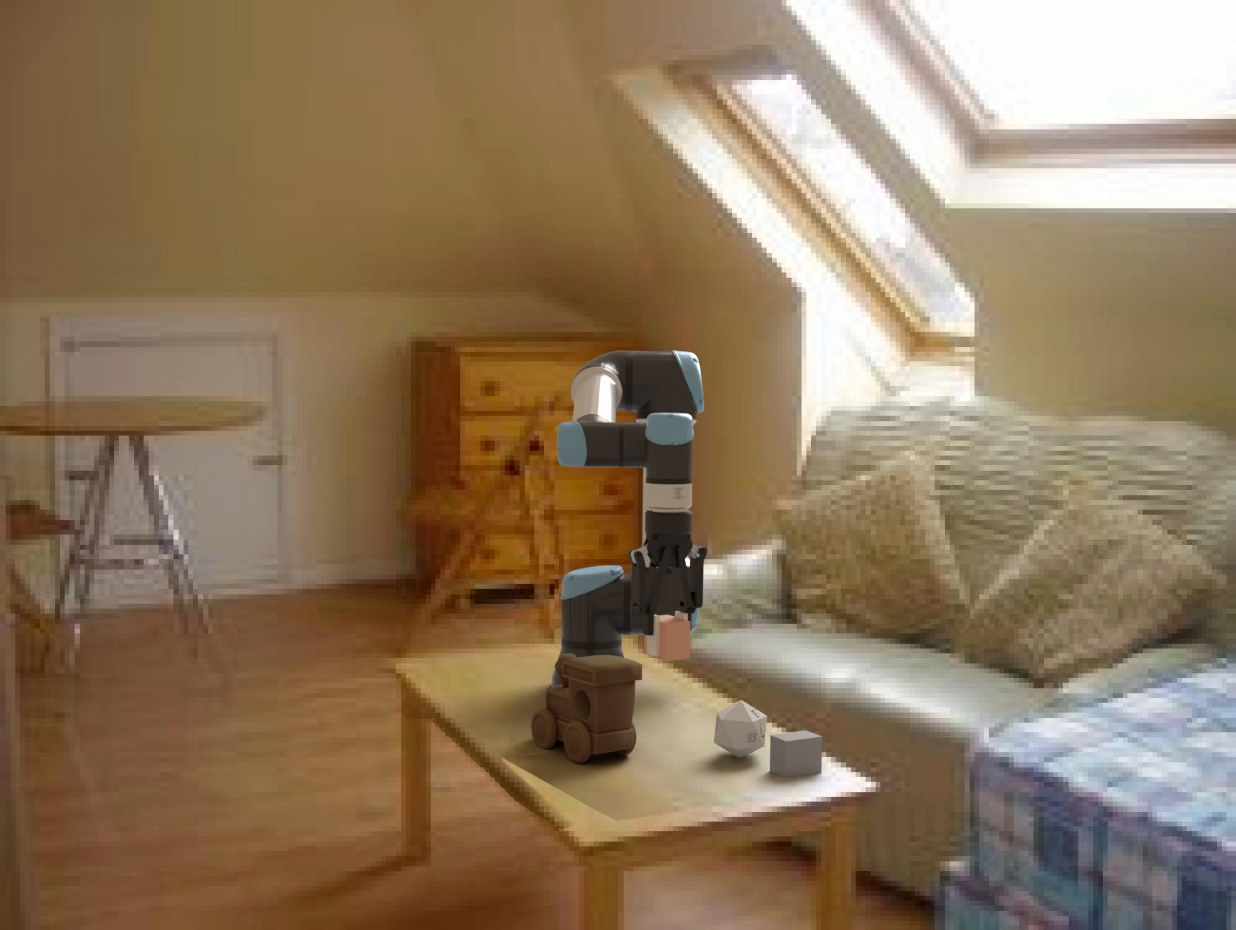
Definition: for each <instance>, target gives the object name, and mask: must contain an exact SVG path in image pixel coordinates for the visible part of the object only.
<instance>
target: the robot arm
mask: <svg viewBox="0 0 1236 930" xmlns="http://www.w3.org/2000/svg"><path fill="white" fill-rule="evenodd" d="M703 388H704V387H703V381H702V373H701V367H700V363H699V359H698V356H697V355H696V354H695V353H693V352H690V351H681V350H674V349H673V350H620V349H619V350H614V351H609V352H606V353H603V354H600V355H598V356H596V357H594V358H593V359H590V360H589V361H587V362H586V363H585V364H584V365H582V366H581V367H580V369H578V371H577V372H576V373H575V375H574V377H573V379H572V382H571V387H570V396H571V400H572V402H573V404H574V405H573V413H572V419H571V421H562V422H560V423H559V424H558V426H557V436H556V438H557V439H556V440H557V443H556V445H557V446H556V448H557V449H556V450H557V451H556V452H557V461H558V464H559V465H560V466H562V467H569V468H570V467H574V468H577V469H581V468H634V469H635V468H638V469H639V468H640V469H643V471H642V473H643V474H642V544H641V545H642V547H639V548H637V549H630V550H629V551H628V553H627V554H628V556H629V561H630V562H631V573H624V570H623V567H622V566H621V565H618V564H617V565H608V564H607V565H597V566H591V567H590V566H589V567H584V568H578V569H575V570H572V571H570V572H568V573H566V574H565V575H564V577H562V583H561V595H560V596H559V598H560V600H561V625H560V626H561V627H560V629H561V630H560V631H561V633H560V634H561V635H560V639H561V642H560V650H559V651H560V652H559V654H558V658H557V660H558V659H559V657H560V655H561V654H565V653H570V654H575V656H576V657H577V658H578V657H586V656H594V655H612V656H619V657H623V658H625V655H624V652H623V636H644V634H645V635H647V654H649V655H648V656H650V655H652V656H655V657H658V656H659V626H660V616H659V615H671V616H674V617H677V618H680V619H684V620H687V621H690V635H691V634H693V632H695V630H696V627H697V624H698V620H699V613H700V609H701V608H702V607H703V605H704V572H705V571H704V568H705V567H704V566H705V565H704V563H705V560H706V556H707V553H708V549H707V548H706V547H704V546H699V545H695V544H694V543H693V540H692V537H691V534H692V532H693V513H692V512H691V510H690V508H691V507H692V506H693V461H694V460H693V459H694V458H693V457H694V436H695V432H694V425H695V424H696V423H697V414H701V413H703V412H704V411H705V401H704V390H703ZM617 412H630V413H631V412H633V413H634V412H635V422H623V421H622V422H619V421H617V422H616V419H617V418H616V417H617ZM689 557H690V558H689ZM647 654H646V655H647ZM652 656H651V657H652ZM655 657H654V658H655ZM557 685H562V682H561V680H560V678H559V676H558V673H557V671H556V669H555V668H554V670H553V673H552V677H551V687H553V686H557Z"/></svg>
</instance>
